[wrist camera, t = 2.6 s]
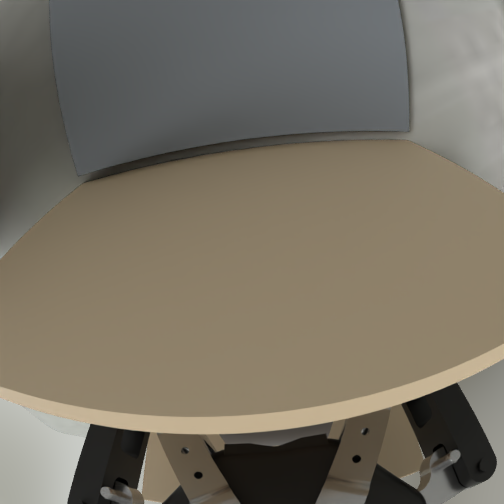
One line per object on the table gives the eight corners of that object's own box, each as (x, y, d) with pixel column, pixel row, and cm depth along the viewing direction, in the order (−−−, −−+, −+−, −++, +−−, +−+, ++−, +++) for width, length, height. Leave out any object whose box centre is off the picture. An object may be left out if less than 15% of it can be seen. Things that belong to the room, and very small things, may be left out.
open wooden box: (82, 183, 11) (-69, 356, 2) (407, 140, 10) (598, 277, 2) (164, 363, 18) (145, 500, 10) (375, 337, 17) (422, 469, 9)
